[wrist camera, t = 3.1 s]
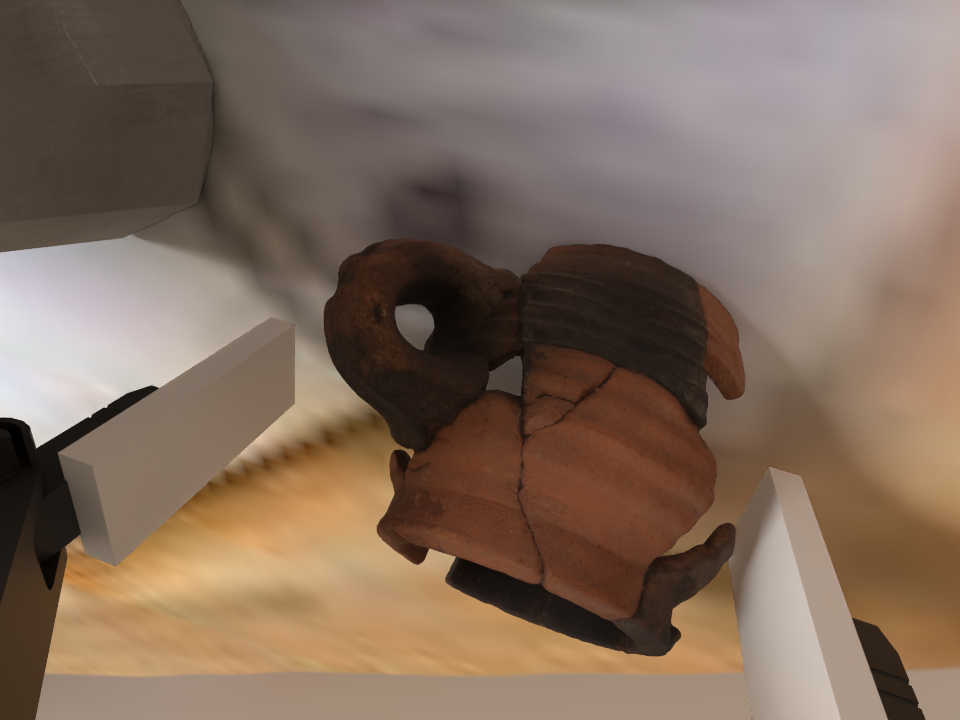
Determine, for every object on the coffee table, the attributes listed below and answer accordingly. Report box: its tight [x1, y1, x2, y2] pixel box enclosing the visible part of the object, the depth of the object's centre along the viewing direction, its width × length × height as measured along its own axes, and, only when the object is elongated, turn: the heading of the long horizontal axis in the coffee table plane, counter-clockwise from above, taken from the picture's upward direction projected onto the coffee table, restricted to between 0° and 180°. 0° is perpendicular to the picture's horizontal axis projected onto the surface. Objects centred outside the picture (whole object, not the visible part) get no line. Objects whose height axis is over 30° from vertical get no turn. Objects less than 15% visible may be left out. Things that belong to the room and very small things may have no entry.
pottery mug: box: [324, 239, 745, 656], centre depth 15 cm, size 12×9×8 cm
